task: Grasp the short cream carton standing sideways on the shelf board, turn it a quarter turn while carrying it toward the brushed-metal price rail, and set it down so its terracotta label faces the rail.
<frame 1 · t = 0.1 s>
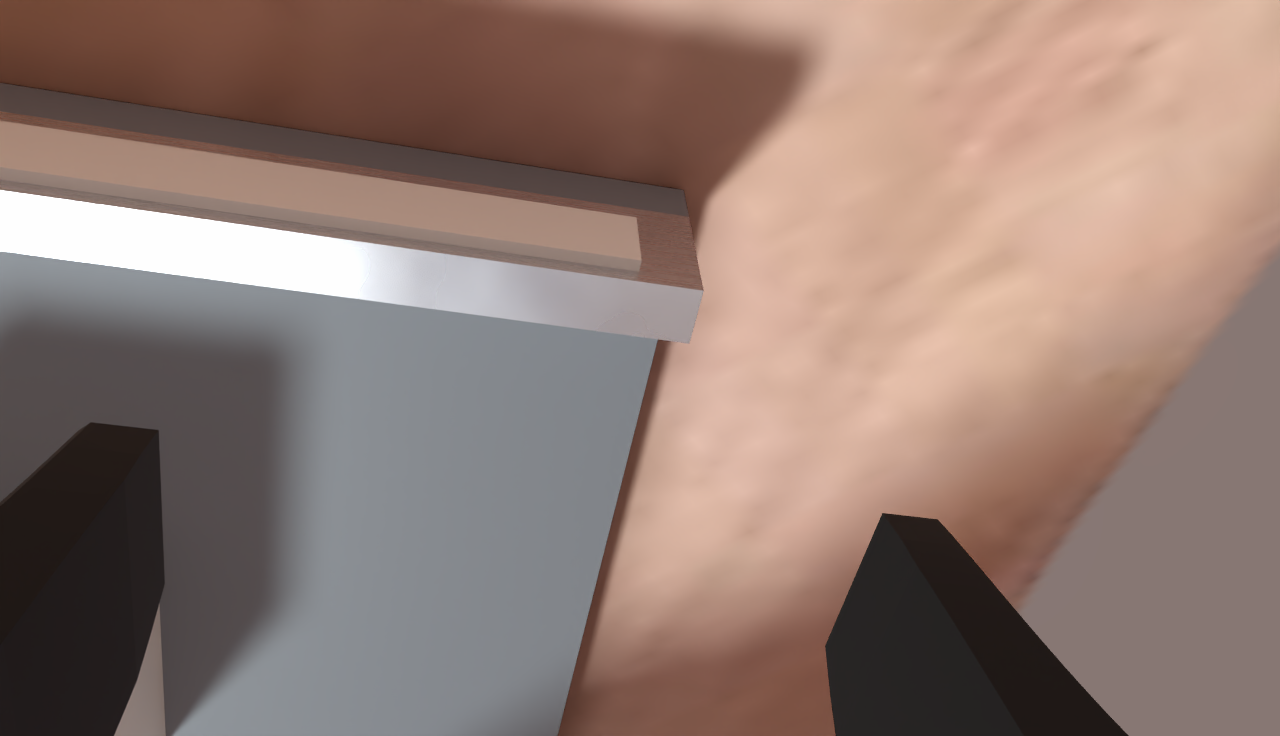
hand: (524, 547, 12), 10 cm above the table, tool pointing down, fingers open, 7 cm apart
shelf: (194, 492, 24), on the table
carton: (38, 631, 25), point 1 cm above the table, touching shelf
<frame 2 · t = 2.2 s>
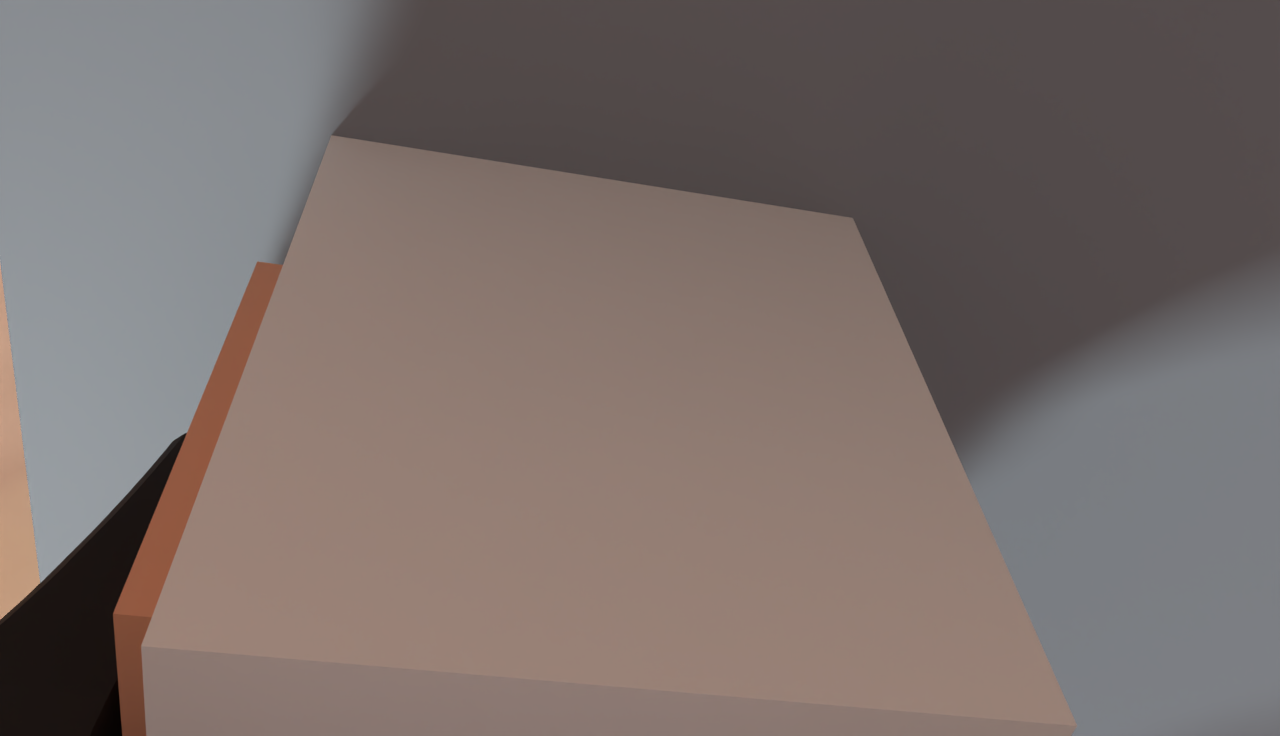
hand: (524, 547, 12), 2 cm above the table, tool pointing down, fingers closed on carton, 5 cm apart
shelf: (877, 180, 12), on the table
carton: (544, 460, 13), point 1 cm above the table, touching gripper, shelf
when the fingers open (3 cm above the table, at t = 6.9 s): carton stays where it is, resting on shelf.
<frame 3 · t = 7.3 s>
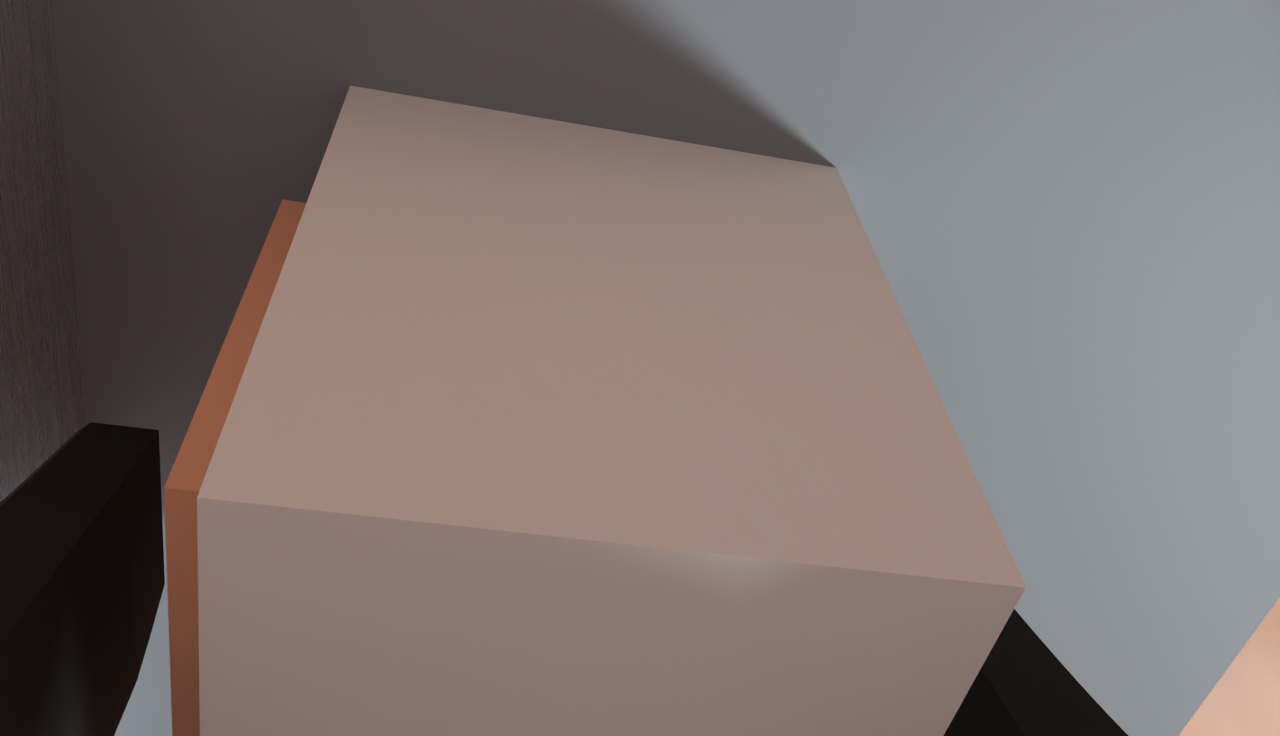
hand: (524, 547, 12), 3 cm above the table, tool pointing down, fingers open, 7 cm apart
shelf: (688, 496, 16), on the table
carton: (546, 400, 14), point 1 cm above the table, touching shelf
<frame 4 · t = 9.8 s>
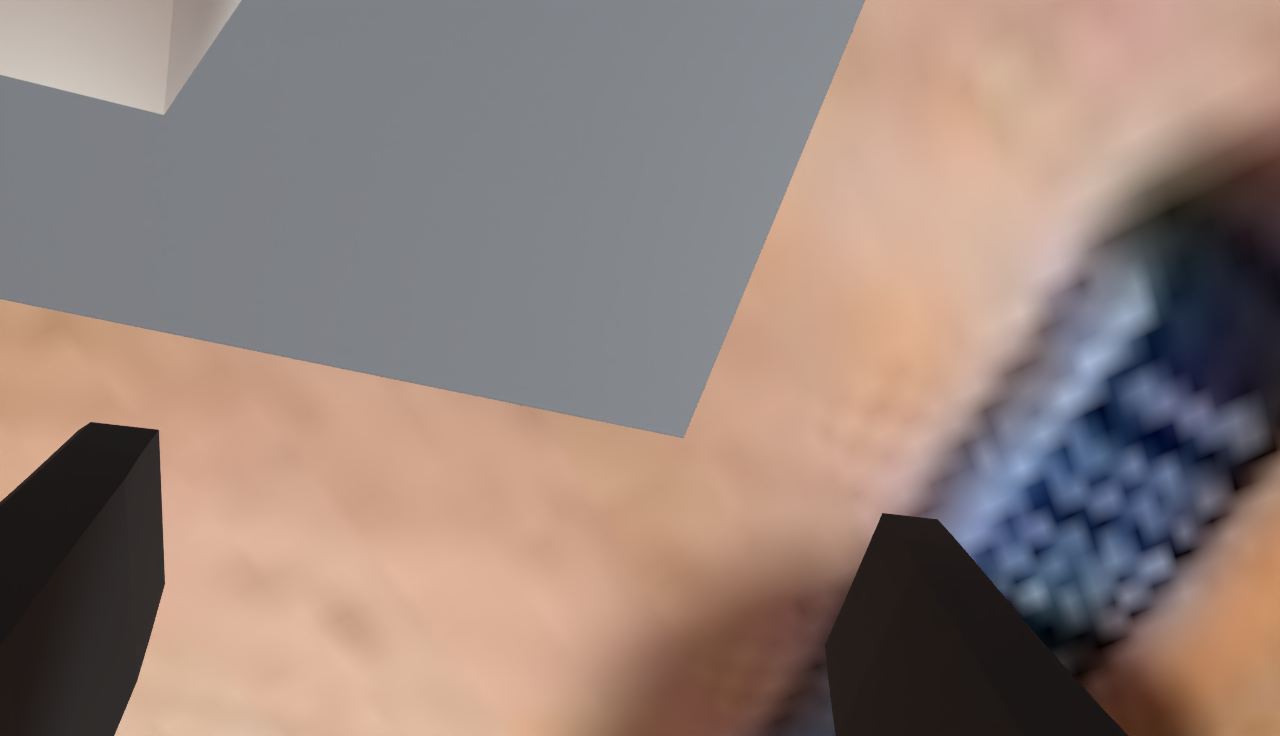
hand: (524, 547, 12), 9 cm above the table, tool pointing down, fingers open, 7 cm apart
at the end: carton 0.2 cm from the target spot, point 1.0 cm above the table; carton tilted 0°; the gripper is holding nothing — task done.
